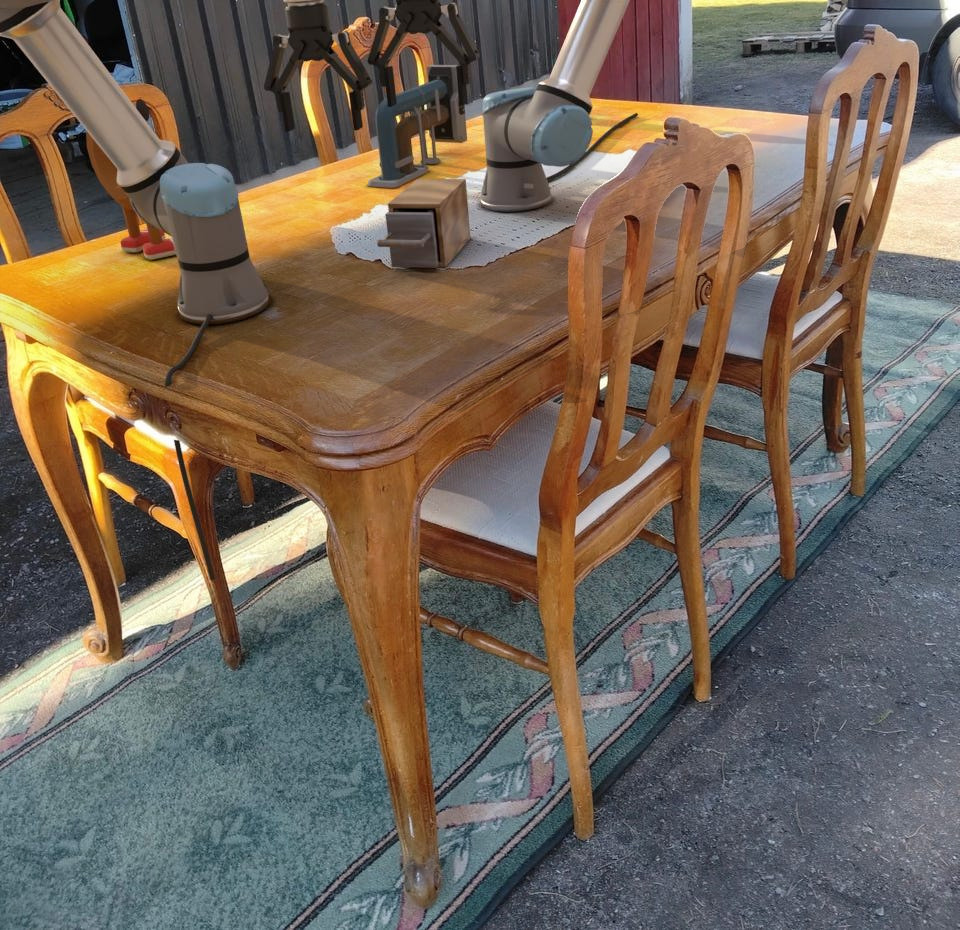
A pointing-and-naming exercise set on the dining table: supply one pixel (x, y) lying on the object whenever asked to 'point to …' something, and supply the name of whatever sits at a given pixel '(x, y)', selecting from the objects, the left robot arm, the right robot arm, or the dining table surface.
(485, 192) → the right robot arm
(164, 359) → the dining table surface
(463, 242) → the cabinet
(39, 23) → the left robot arm
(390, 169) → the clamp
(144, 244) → the toy
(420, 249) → the drawer
